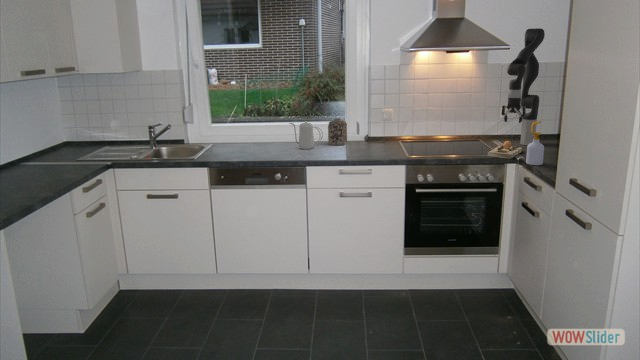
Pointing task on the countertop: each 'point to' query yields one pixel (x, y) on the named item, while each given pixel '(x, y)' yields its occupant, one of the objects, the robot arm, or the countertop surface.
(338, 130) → the decorative jar
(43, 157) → the countertop surface
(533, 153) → the soap bottle
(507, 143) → the ball
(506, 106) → the robot arm
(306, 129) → the coffeepot
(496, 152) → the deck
